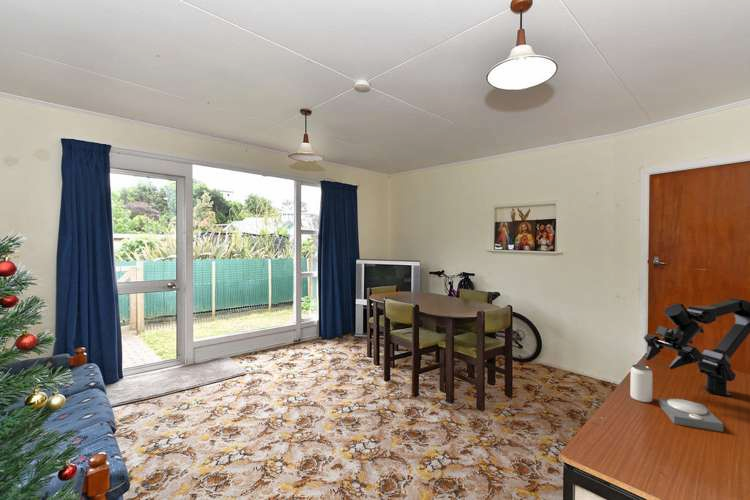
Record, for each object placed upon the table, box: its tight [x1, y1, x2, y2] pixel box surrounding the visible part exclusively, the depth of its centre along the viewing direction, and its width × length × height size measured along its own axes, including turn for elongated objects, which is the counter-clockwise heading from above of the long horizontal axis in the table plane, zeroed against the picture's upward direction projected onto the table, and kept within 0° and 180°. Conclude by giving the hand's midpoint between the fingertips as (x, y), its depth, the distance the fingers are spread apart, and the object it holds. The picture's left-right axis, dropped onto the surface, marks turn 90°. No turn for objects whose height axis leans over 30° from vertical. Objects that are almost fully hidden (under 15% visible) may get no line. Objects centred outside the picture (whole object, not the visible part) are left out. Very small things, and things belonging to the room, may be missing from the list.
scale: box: [658, 397, 724, 433], centre depth 115 cm, size 14×12×3 cm
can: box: [629, 364, 653, 403], centre depth 128 cm, size 6×6×12 cm
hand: (658, 363), depth 129 cm, fingers open, 9 cm apart
